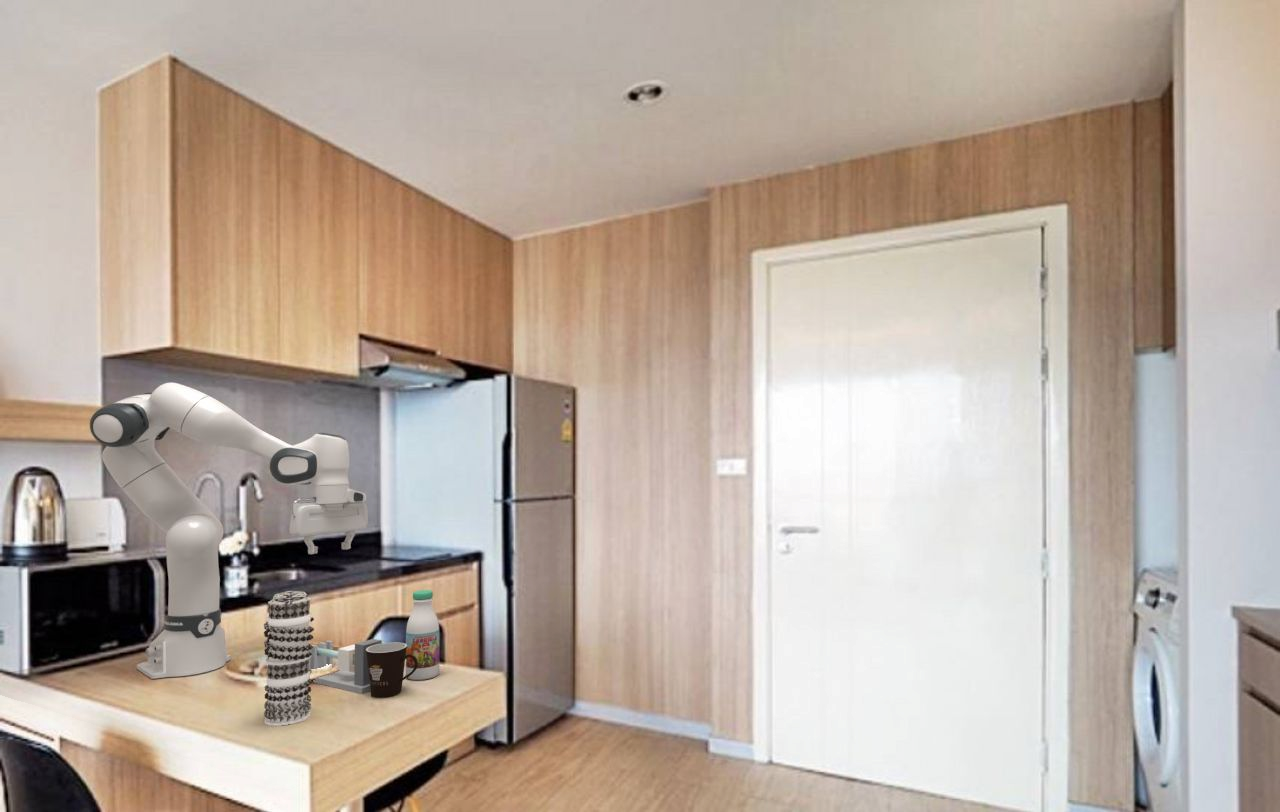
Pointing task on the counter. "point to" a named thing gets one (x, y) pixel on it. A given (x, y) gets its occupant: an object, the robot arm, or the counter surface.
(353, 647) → the marker sleeve
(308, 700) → the decorative candle
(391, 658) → the coffee mug
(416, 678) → the milk bottle
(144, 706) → the counter surface
